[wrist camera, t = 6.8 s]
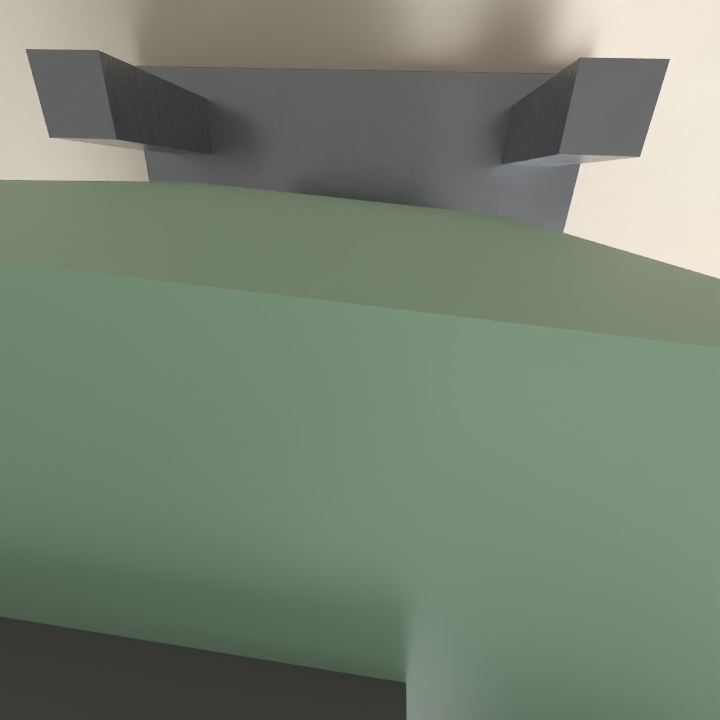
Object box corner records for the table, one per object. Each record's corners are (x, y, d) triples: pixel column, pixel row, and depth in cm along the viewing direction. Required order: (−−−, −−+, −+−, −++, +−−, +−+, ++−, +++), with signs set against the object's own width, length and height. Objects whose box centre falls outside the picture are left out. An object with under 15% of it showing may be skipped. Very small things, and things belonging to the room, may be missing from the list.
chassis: (216, 500, 26) (157, 602, 20) (144, 72, 16) (-25, -1, 10) (482, 527, 25) (511, 645, 18) (590, 81, 15) (735, 2, 8)
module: (221, 540, 17) (3, 977, 8) (189, 181, 11) (-1208, 165, 1) (421, 570, 17) (449, 1068, 7) (508, 215, 11) (1521, 507, 1)
